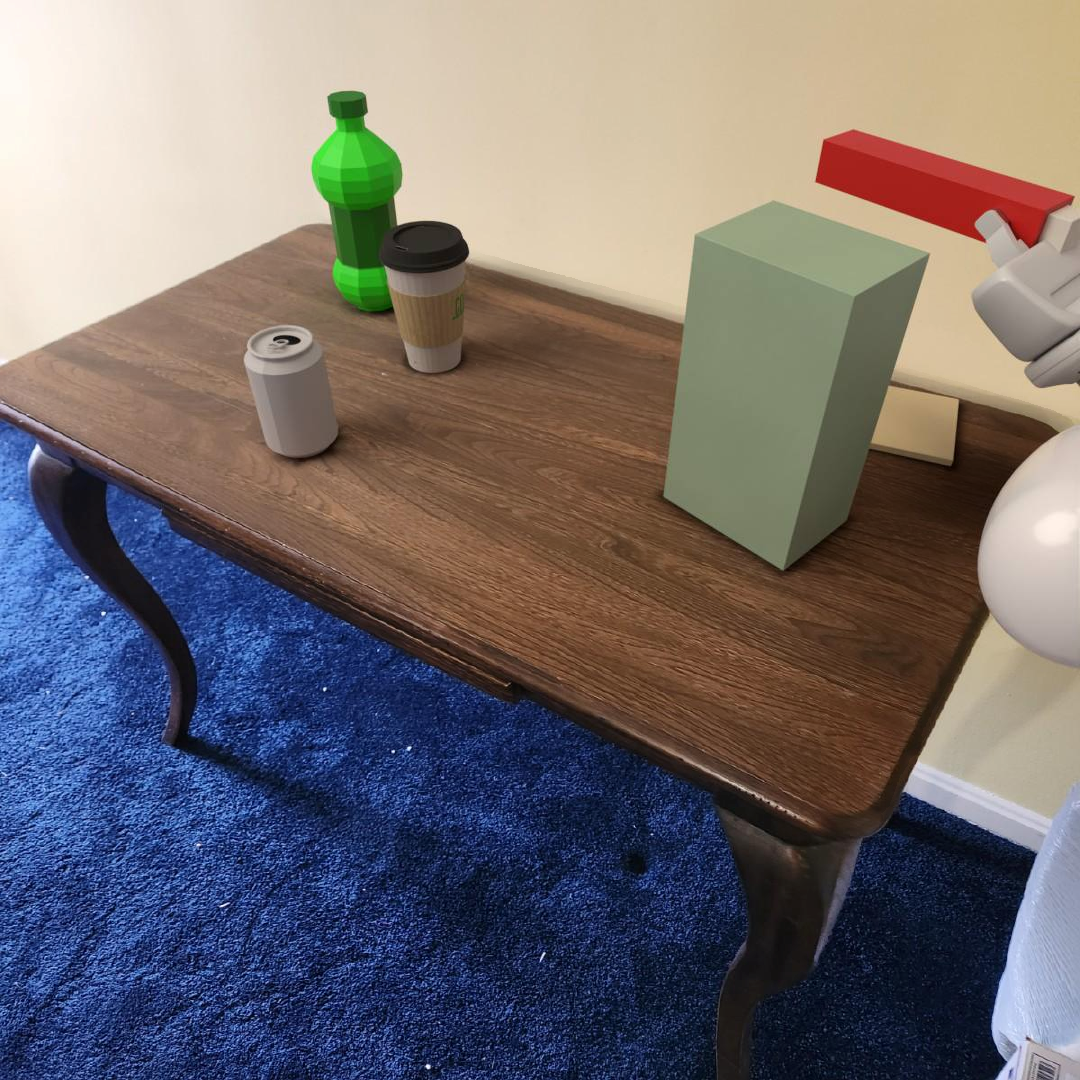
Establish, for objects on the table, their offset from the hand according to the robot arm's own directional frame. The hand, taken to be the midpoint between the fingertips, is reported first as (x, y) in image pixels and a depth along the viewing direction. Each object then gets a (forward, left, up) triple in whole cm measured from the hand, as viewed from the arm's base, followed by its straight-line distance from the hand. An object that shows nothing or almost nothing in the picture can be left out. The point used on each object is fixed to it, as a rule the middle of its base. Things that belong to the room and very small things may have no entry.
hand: (1001, 205), depth 73 cm
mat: (+6, -3, -25) cm, 26 cm away
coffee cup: (+54, +4, -25) cm, 60 cm away
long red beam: (+5, -3, -2) cm, 7 cm away
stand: (+13, +17, -25) cm, 33 cm away
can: (+59, +24, -25) cm, 69 cm away
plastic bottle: (+68, -6, -25) cm, 73 cm away
